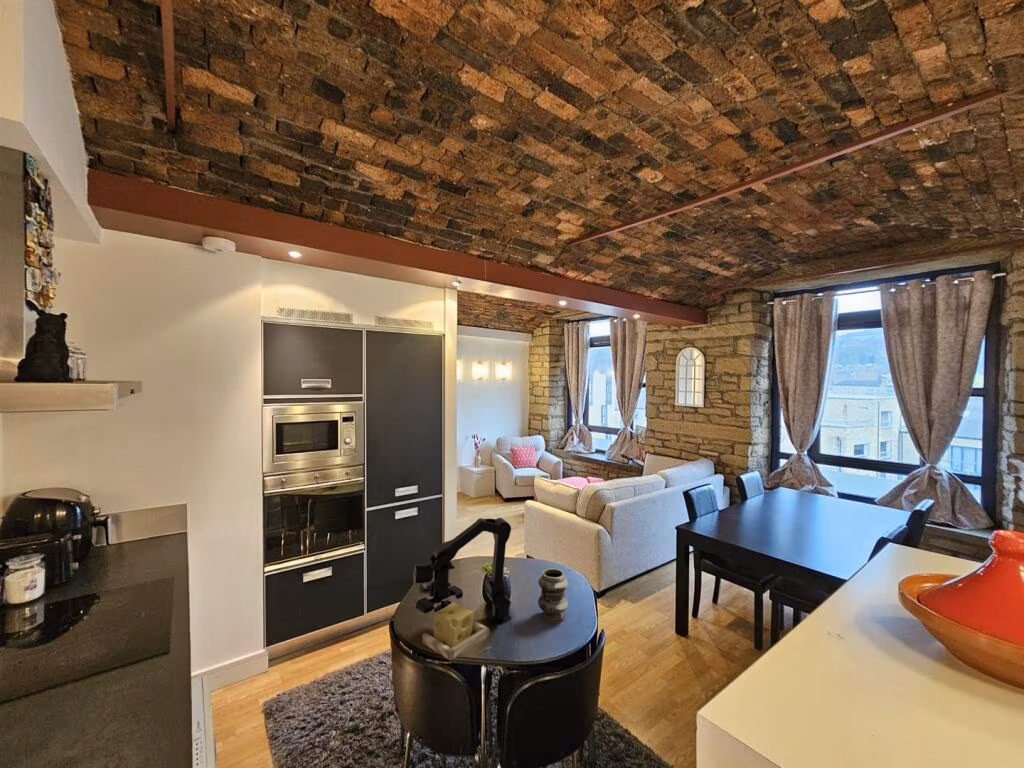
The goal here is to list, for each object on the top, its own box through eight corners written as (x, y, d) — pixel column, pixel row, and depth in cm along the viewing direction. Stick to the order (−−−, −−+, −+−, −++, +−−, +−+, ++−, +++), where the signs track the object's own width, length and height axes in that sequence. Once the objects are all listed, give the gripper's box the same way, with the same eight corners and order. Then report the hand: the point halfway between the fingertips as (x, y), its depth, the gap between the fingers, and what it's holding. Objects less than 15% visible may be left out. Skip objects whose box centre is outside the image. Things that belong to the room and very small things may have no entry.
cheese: (452, 651, 154) (454, 623, 153) (431, 637, 160) (433, 611, 160) (472, 637, 162) (474, 611, 162) (451, 625, 169) (453, 600, 168)
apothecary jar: (555, 628, 167) (555, 582, 167) (531, 617, 176) (531, 572, 175) (573, 616, 176) (573, 572, 176) (550, 605, 184) (550, 563, 184)
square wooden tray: (489, 636, 163) (489, 628, 163) (450, 660, 148) (450, 652, 148) (461, 621, 173) (461, 613, 173) (422, 642, 159) (422, 634, 159)
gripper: (446, 566, 178) (444, 604, 178) (408, 580, 164) (405, 621, 164) (464, 575, 171) (462, 615, 171) (426, 591, 157) (423, 634, 157)
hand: (438, 620), depth 166 cm, fingers closed
